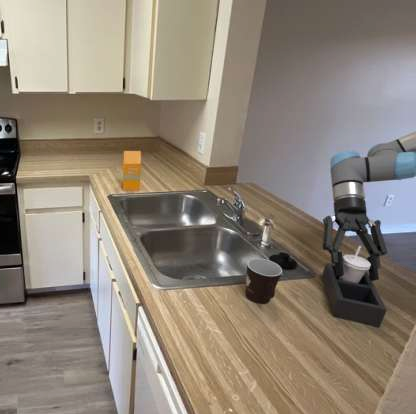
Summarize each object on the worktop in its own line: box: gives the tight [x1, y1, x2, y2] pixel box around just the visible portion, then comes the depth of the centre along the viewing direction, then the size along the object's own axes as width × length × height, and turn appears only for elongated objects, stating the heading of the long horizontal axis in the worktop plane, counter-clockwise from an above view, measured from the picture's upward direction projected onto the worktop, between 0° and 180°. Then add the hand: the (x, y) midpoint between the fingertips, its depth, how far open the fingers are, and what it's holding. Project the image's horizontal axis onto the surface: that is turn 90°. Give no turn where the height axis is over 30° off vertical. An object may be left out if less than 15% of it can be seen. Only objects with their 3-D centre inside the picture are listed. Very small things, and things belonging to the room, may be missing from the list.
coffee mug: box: [244, 257, 283, 305], centre depth 91 cm, size 12×9×10 cm
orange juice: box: [122, 150, 142, 191], centre depth 173 cm, size 8×9×20 cm
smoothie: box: [339, 245, 371, 283], centre depth 93 cm, size 6×6×14 cm
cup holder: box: [321, 262, 388, 328], centre depth 91 cm, size 10×19×6 cm, turn 156°
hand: (356, 277), depth 90 cm, fingers open, 7 cm apart
